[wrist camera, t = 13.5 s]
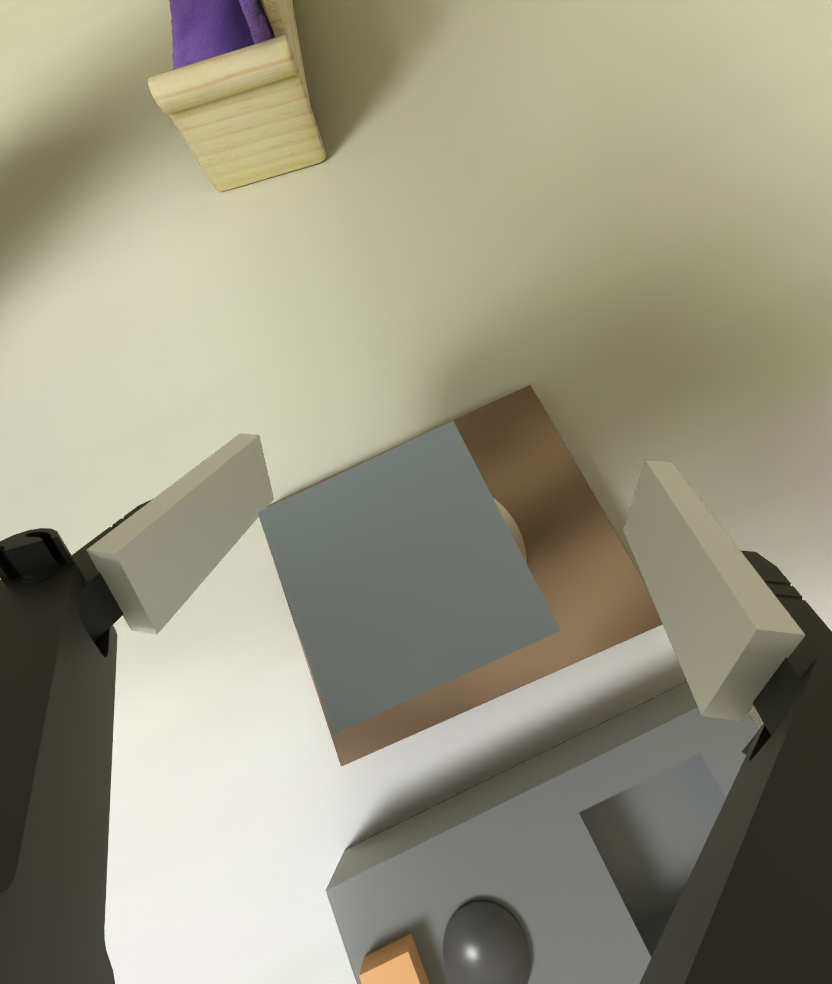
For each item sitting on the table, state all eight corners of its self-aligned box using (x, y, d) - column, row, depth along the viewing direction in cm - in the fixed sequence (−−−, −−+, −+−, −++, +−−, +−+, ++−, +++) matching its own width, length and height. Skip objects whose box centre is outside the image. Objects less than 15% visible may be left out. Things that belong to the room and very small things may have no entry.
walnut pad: (267, 514, 23) (256, 509, 22) (527, 395, 23) (530, 384, 21) (348, 756, 20) (340, 767, 18) (655, 620, 19) (668, 622, 18)
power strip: (421, 1052, 17) (408, 1179, 13) (347, 844, 19) (318, 905, 15) (808, 863, 17) (902, 938, 13) (692, 674, 19) (746, 695, 15)
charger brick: (374, 553, 20) (257, 512, 9) (462, 512, 20) (452, 420, 9) (413, 646, 19) (333, 733, 8) (506, 604, 19) (560, 630, 8)
